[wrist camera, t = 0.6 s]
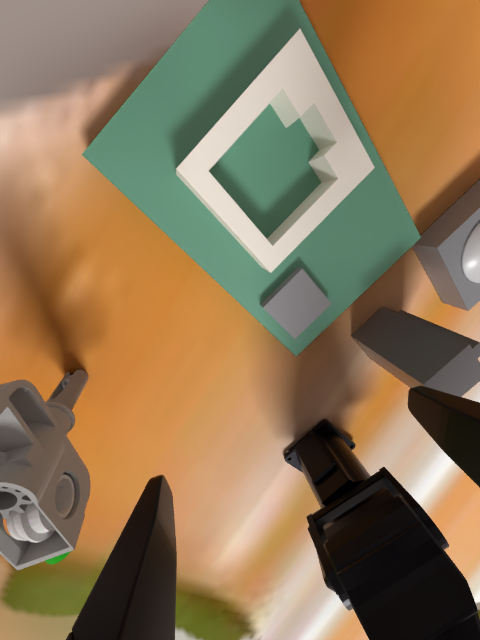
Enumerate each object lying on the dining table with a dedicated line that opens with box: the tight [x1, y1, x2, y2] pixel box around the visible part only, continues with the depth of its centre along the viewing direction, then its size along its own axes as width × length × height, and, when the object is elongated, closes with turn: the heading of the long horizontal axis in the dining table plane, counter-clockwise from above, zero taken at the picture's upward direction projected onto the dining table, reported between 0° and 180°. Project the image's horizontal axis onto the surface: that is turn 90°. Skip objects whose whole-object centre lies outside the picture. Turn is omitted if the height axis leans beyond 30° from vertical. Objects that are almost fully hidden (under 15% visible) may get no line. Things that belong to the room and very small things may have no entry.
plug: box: [352, 307, 480, 397], centre depth 22 cm, size 4×5×8 cm
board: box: [82, 0, 421, 356], centre depth 17 cm, size 20×14×4 cm
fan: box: [412, 179, 480, 311], centre depth 23 cm, size 8×8×3 cm
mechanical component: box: [0, 369, 90, 570], centre depth 16 cm, size 3×10×10 cm, turn 11°
